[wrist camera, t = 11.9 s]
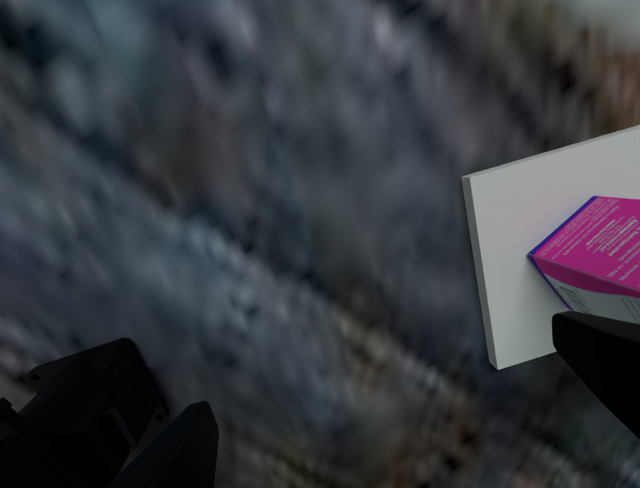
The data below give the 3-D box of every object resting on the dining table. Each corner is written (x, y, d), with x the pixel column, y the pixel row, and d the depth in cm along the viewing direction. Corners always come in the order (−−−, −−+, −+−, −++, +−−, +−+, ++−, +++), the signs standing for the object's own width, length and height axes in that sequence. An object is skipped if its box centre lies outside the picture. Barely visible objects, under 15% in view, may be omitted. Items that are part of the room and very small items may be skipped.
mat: (489, 361, 24) (497, 370, 23) (460, 176, 21) (469, 177, 20) (662, 307, 25) (677, 313, 24) (663, 117, 21) (682, 115, 20)
